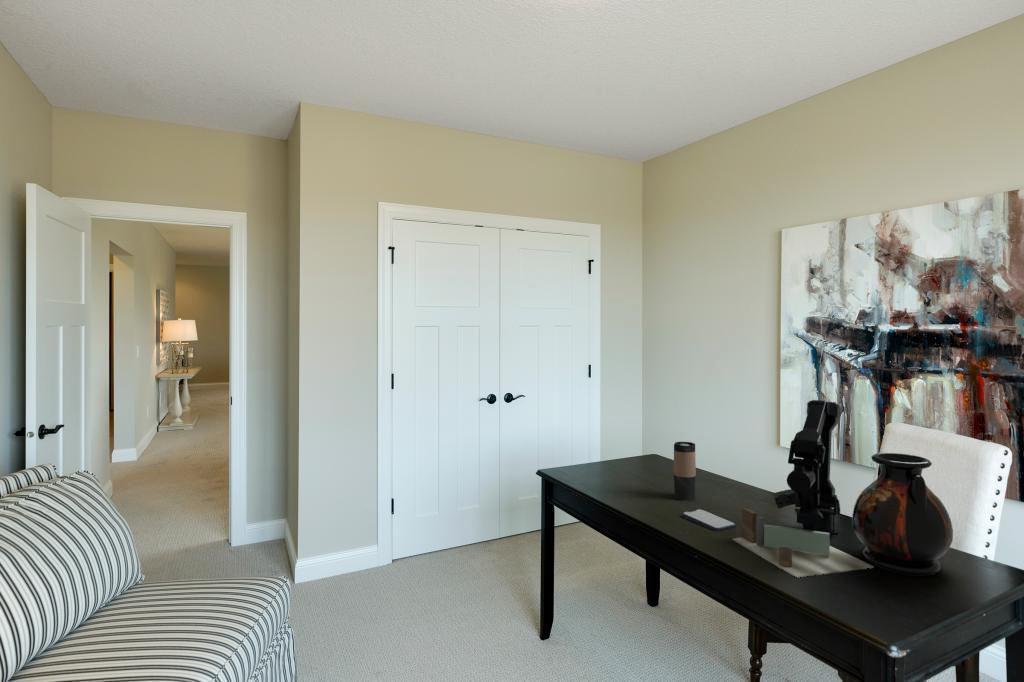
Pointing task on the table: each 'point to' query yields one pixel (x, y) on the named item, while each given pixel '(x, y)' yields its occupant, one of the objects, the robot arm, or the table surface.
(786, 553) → the stop post
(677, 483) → the travel mug
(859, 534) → the amphora vase
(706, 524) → the phone case
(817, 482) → the robot arm
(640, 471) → the table surface
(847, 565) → the gate base
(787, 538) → the gate
